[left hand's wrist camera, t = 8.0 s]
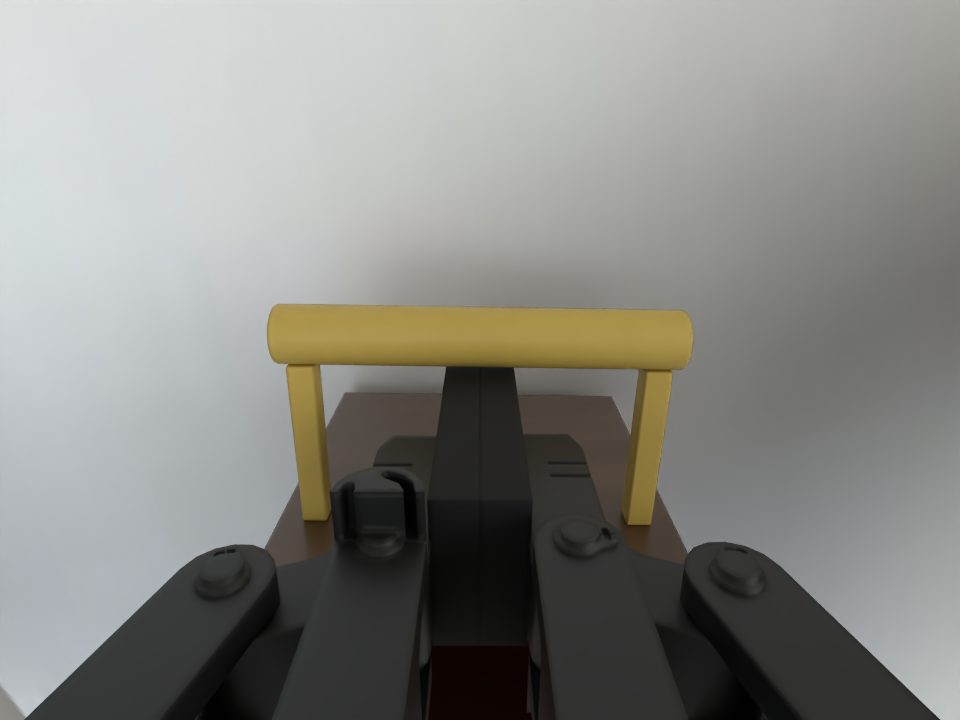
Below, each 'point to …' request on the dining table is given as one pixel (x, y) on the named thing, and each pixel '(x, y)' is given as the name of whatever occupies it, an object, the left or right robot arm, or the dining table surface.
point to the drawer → (378, 416)
